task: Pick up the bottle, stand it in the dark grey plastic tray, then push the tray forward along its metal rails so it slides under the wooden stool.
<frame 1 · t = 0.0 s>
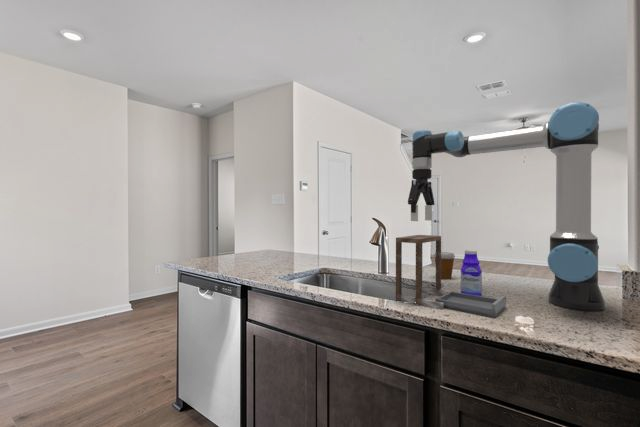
hand: (421, 220, 133), 28 cm above the worktop, fingers open, 13 cm apart
tray: (470, 301, 108), point 2 cm above the worktop, slide at 14.0 cm
bottle: (471, 297, 121), on the worktop
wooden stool: (419, 297, 120), on the worktop
disposable coffee cup: (444, 278, 154), on the worktop
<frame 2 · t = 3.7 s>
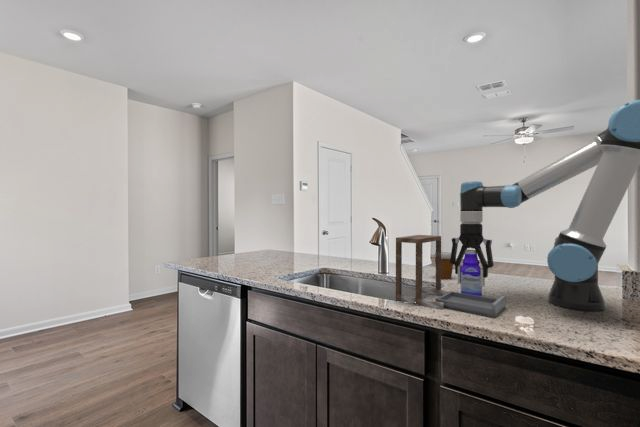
hand: (471, 284, 121), 5 cm above the worktop, fingers closed on bottle, 7 cm apart
bottle: (470, 297, 121), on the worktop, touching gripper
everything else where it was.
when the fingers open (7 cm above the worktop, at t = 10.1 s): bottle drops 1 cm, resting on tray.
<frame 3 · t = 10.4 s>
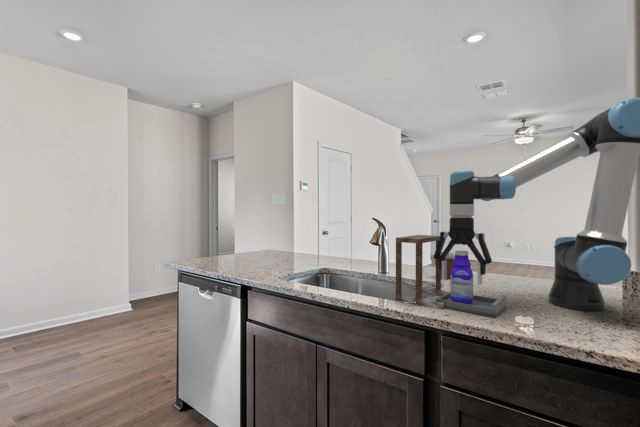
hand: (461, 281, 110), 8 cm above the worktop, fingers open, 11 cm apart
tray: (470, 301, 108), point 2 cm above the worktop, slide at 14.0 cm, touching bottle
bottle: (461, 302, 110), point 1 cm above the worktop, touching tray
everything else where it was.
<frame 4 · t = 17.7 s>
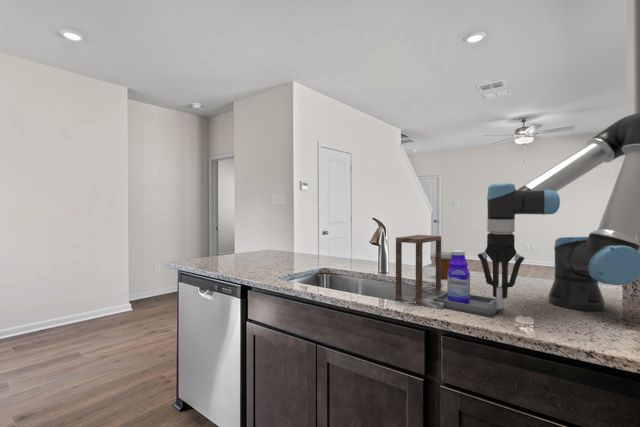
hand: (500, 307, 102), 2 cm above the worktop, fingers closed
tray: (467, 300, 108), point 2 cm above the worktop, slide at 13.0 cm, touching bottle, gripper
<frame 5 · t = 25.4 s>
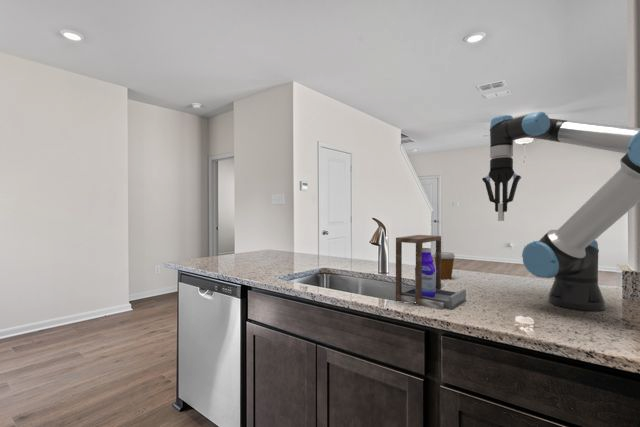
hand: (501, 220, 122), 28 cm above the worktop, fingers closed
tray: (433, 294, 116), point 2 cm above the worktop, slide at 1.3 cm, touching bottle
bottle: (425, 296, 118), point 1 cm above the worktop, touching tray
everything else where it was.
at the end: tray slide at 1.3 cm; bottle 3.0 cm from the tray (horizontally); bottle tilted 0° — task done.
